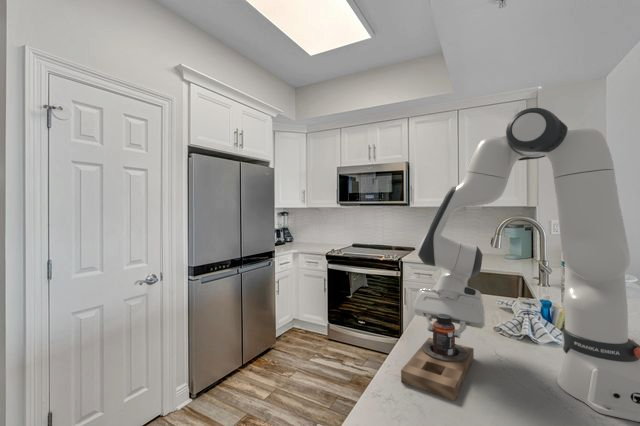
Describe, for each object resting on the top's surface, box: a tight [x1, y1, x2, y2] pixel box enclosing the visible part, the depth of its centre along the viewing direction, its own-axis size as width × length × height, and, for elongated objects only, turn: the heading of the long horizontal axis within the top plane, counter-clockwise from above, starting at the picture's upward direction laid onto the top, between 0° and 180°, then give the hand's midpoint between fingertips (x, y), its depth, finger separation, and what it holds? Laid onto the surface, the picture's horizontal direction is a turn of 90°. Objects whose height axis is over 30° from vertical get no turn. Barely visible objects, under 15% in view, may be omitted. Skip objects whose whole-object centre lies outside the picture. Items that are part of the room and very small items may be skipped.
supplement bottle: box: [432, 314, 456, 357], centre depth 85 cm, size 6×6×11 cm
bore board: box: [400, 337, 475, 401], centre depth 81 cm, size 13×24×4 cm, turn 143°
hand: (443, 333), depth 85 cm, fingers closed on supplement bottle, 6 cm apart
